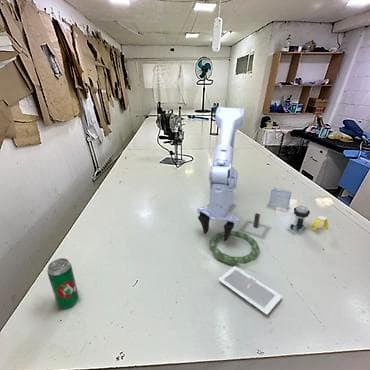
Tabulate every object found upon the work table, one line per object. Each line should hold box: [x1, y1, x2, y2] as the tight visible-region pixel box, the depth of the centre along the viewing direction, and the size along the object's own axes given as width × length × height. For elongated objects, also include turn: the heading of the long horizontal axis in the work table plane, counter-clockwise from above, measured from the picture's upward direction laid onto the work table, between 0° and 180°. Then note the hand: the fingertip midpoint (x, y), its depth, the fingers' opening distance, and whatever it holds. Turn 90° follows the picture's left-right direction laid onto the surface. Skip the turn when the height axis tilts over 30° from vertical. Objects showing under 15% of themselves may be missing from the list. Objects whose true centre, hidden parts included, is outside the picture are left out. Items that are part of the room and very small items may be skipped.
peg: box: [252, 212, 261, 229], centre depth 89 cm, size 8×8×6 cm
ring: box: [208, 230, 261, 266], centre depth 79 cm, size 16×16×2 cm
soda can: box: [46, 257, 80, 309], centre depth 57 cm, size 5×5×12 cm
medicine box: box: [268, 186, 292, 210], centre depth 105 cm, size 8×4×9 cm, turn 58°
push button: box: [289, 205, 311, 232], centre depth 87 cm, size 7×5×10 cm
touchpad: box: [217, 265, 283, 315], centre depth 63 cm, size 8×15×2 cm, turn 43°
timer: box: [312, 215, 329, 232], centre depth 88 cm, size 6×3×6 cm, turn 110°
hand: (215, 236), depth 82 cm, fingers open, 7 cm apart
